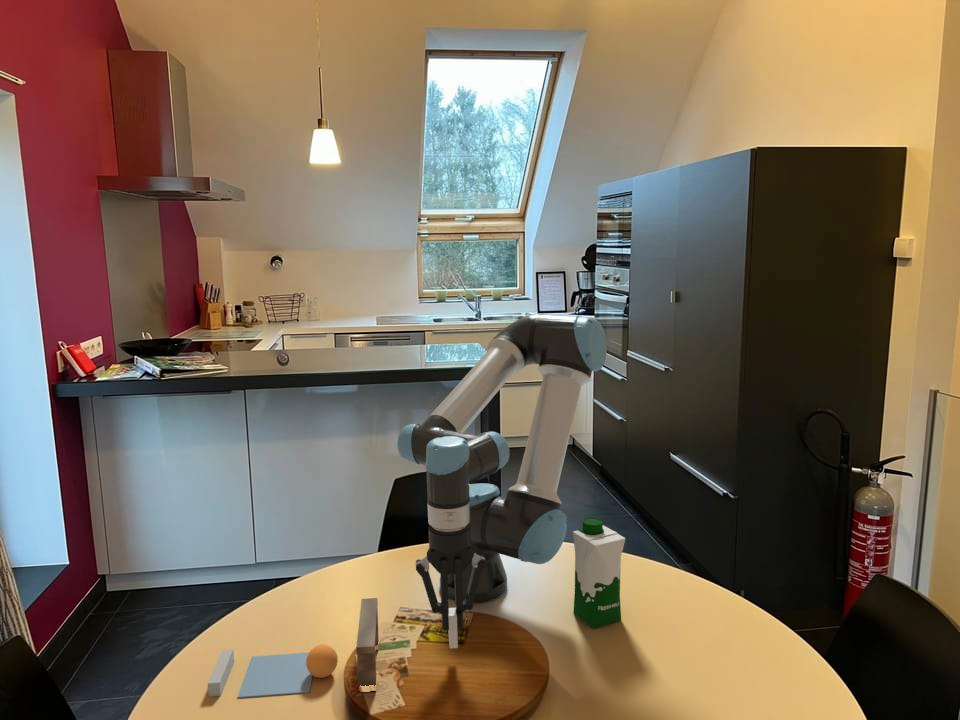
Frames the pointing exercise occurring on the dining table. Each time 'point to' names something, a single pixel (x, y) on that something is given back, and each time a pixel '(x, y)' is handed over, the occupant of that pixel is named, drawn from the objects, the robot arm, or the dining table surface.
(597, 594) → the milk carton
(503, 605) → the dining table surface
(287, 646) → the dining table surface
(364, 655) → the bridge
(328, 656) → the ball
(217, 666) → the rail
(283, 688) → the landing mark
